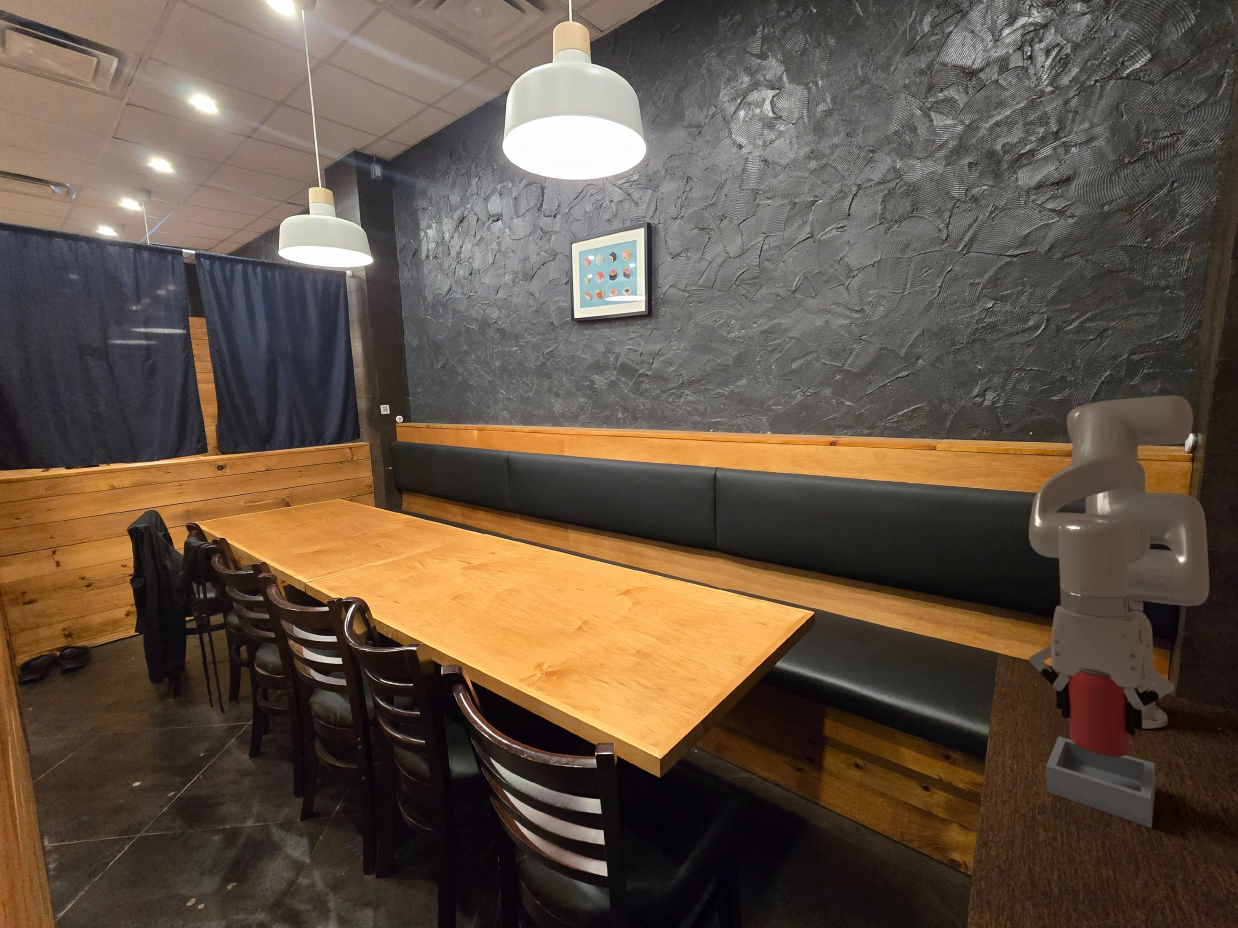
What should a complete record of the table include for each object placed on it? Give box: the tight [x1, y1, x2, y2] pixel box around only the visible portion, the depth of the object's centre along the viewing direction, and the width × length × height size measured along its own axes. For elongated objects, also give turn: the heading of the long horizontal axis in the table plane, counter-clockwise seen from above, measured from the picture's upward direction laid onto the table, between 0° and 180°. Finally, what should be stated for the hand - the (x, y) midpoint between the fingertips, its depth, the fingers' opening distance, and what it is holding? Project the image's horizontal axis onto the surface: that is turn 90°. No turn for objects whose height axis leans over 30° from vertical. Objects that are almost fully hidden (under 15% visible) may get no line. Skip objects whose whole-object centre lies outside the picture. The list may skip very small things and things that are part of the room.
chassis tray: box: [1045, 735, 1156, 829], centre depth 78 cm, size 11×11×4 cm
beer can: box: [1067, 669, 1131, 757], centre depth 78 cm, size 7×7×12 cm
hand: (1098, 721), depth 78 cm, fingers closed on beer can, 6 cm apart
